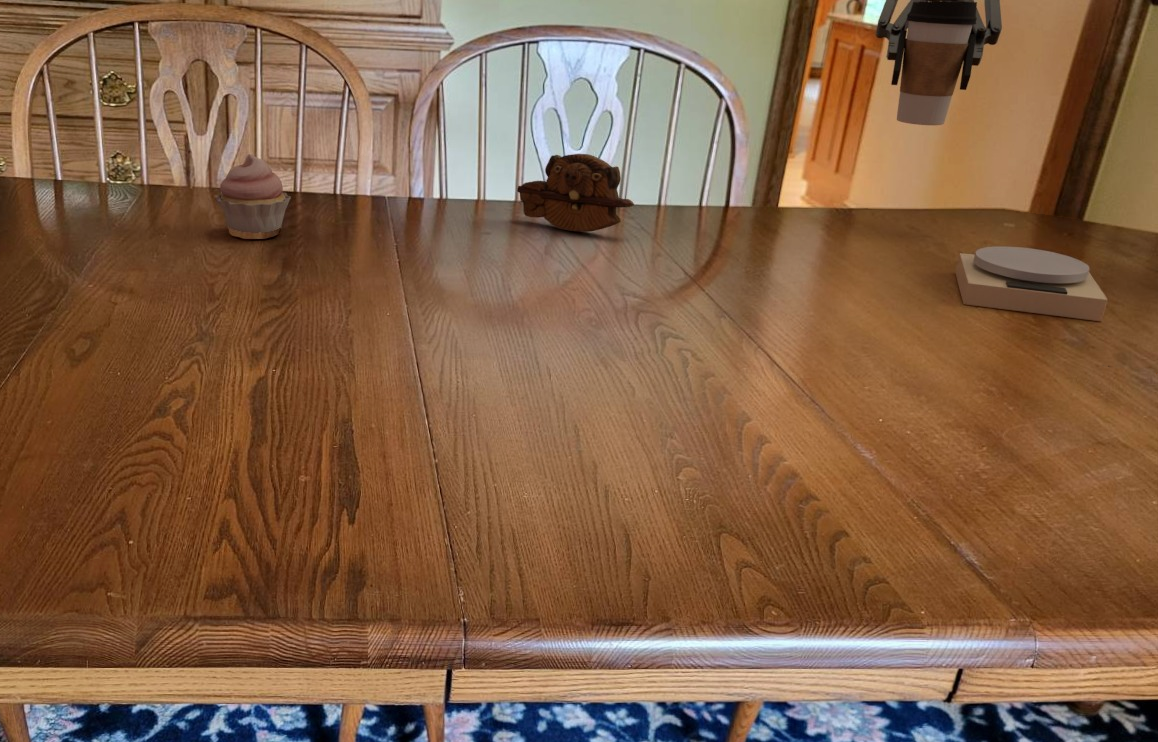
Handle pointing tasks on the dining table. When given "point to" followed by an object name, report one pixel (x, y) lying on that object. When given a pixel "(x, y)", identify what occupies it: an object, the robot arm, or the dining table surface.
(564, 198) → the wooden carving
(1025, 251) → the kitchen scale
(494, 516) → the dining table surface
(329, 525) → the dining table surface
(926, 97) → the coffee cup
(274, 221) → the cupcake
